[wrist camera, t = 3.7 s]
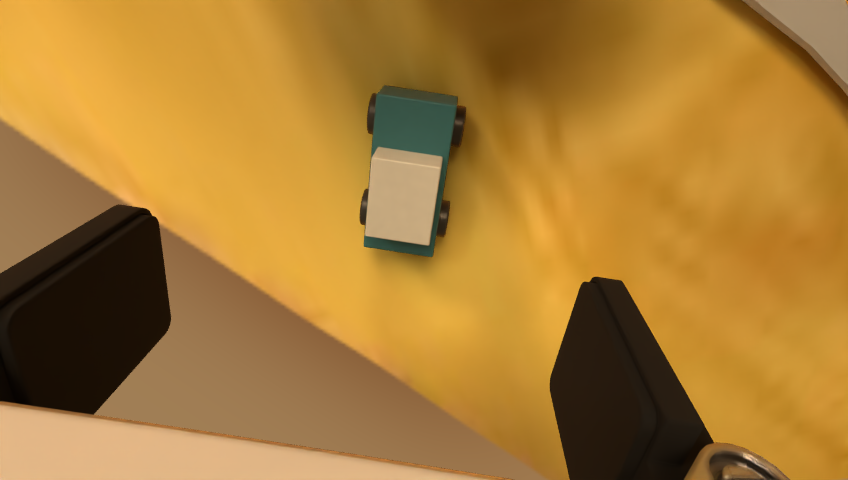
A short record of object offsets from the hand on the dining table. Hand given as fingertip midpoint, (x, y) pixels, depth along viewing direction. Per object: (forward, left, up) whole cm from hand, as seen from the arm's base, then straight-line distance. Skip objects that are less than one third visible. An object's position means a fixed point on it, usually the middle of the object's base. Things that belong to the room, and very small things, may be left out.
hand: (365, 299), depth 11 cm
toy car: (0, 0, -9) cm, 9 cm away
